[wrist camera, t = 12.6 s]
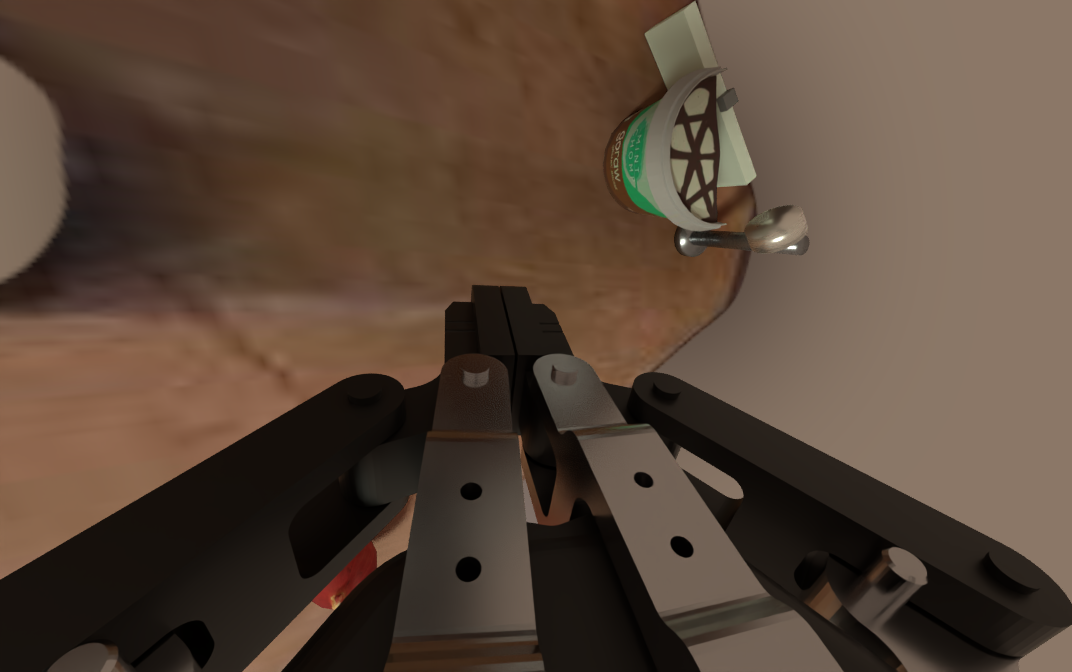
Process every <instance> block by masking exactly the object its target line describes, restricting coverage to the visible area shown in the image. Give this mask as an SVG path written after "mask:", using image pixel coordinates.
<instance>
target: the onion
mask: <svg viewBox="0 0 1072 672" xmlns="http://www.w3.org/2000/svg"><path fill="white" fill-rule="evenodd" d="M375 569H377V551H376V549H375V547H374V545H373V543H372V541H370V542H369V543H368V544H367V545H366V546H365V547H364V548H363V549H362V550H361V551H360V552H359V553H358V554H357V555H356V556H355V558H354V559H353V560H352V561H351V562H350V563H349V564H348V565H347V566H346V567H345V568H344V569H343V570H342V571H341V572H340V573H339V574H338V575H337V576H336V577H335V578H334V579H333V580H332V581H331V582H330V583H329V584H328V585H327V586H326V587H325V588H324V589H323V590H322V591H321V592H320V593H319V594H318V595H317V596H316V597H315V598H314V599H313V600H312V602H314V603H315V604H317V605H319V606H320V607H322V608H328V609H336V608H337V607H338V606H339V605H340V603H341V602H342V601H343V600H344V599H345V598H346V597H347V595H348V594H349V593H350V592H351V591H352V590H353V589H354V588H355V587H356V586H357V585H358V584H359V583H360V582H361V581H362V580H364V579H365V578H366V577H367V576H368V575H369V574H370V573H372V572H373V571H374V570H375Z"/></svg>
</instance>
